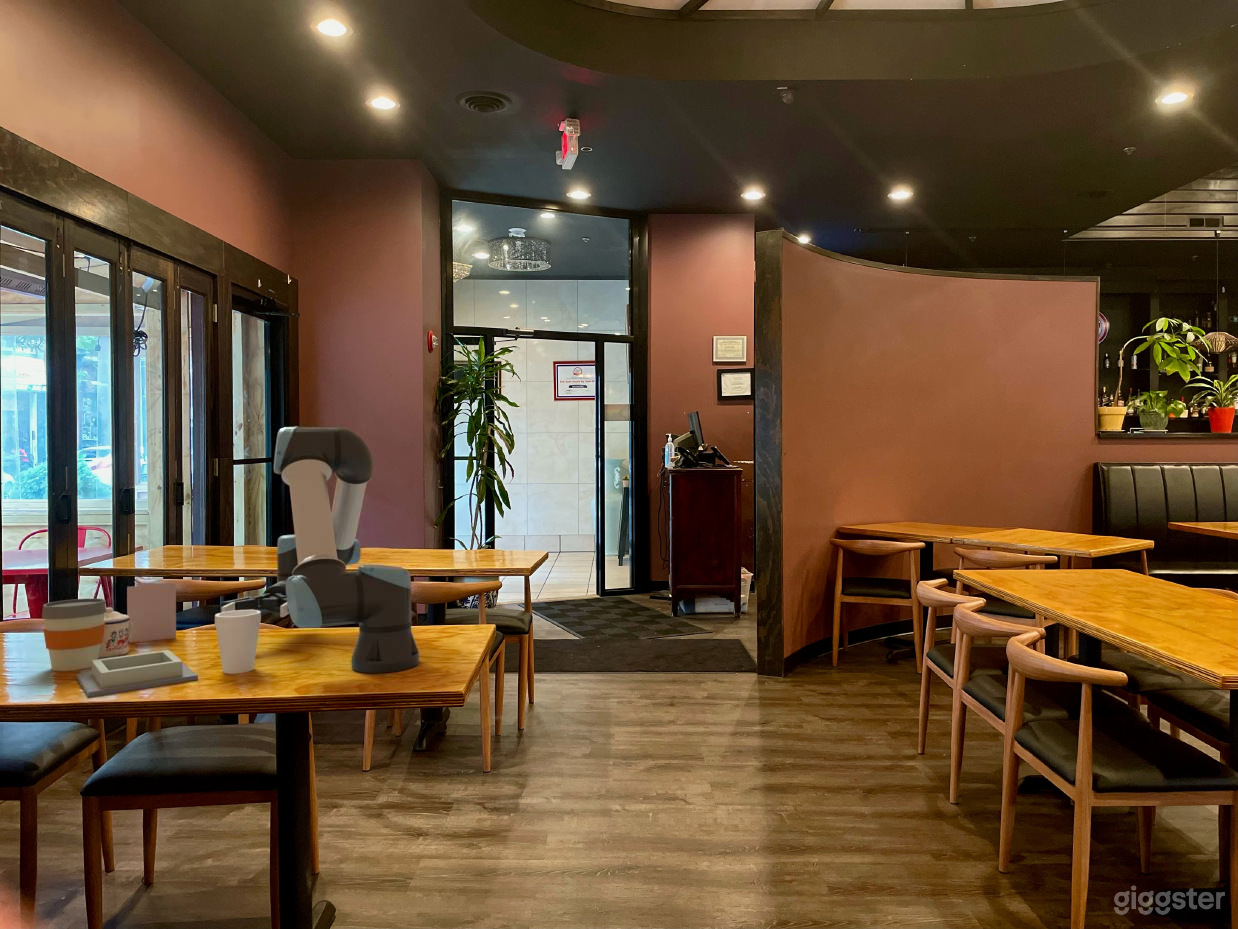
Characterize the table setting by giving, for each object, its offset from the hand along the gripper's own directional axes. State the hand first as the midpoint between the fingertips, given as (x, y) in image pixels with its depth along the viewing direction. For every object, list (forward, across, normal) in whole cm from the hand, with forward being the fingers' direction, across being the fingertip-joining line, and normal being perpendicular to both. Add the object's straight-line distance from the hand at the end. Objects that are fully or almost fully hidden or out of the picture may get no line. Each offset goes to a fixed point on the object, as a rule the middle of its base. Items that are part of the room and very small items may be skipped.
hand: (252, 612), depth 190 cm
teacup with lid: (-13, +38, -12) cm, 42 cm away
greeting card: (-29, +37, -12) cm, 48 cm away
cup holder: (+15, +19, -11) cm, 27 cm away
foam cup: (+10, 0, -12) cm, 15 cm away
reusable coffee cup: (0, +40, -12) cm, 42 cm away
